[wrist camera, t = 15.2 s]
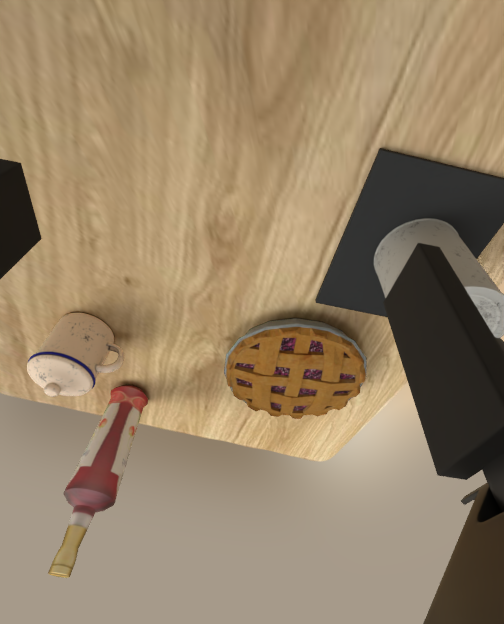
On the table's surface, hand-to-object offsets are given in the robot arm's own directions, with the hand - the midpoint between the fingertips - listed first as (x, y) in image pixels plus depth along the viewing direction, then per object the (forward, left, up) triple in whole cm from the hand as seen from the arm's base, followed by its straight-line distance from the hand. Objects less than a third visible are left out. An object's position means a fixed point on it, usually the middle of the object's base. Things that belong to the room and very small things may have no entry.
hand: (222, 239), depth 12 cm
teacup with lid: (+37, -19, -27) cm, 49 cm away
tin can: (+12, +21, -26) cm, 36 cm away
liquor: (+52, -14, -27) cm, 60 cm away
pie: (+35, +13, -27) cm, 46 cm away
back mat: (+12, +20, -26) cm, 35 cm away
